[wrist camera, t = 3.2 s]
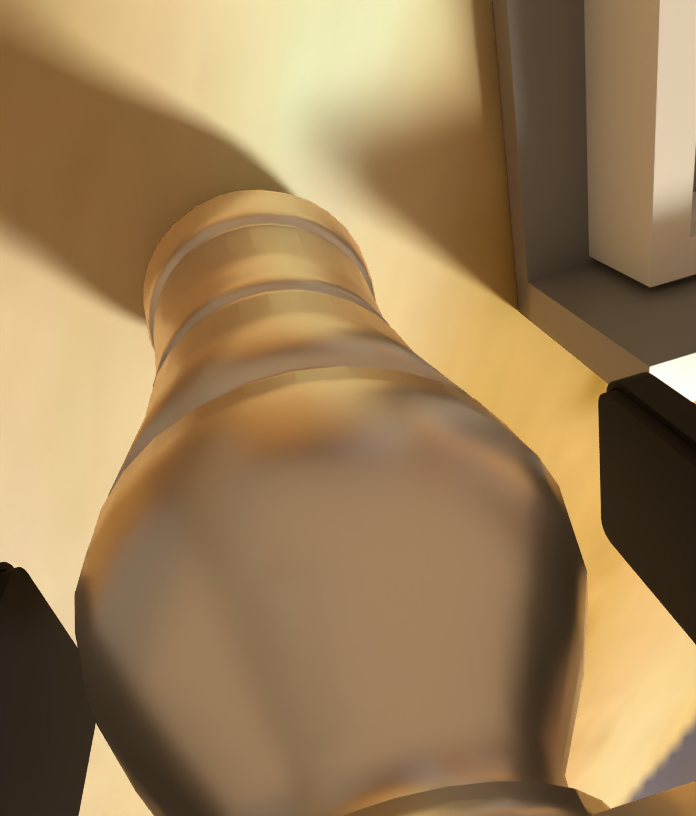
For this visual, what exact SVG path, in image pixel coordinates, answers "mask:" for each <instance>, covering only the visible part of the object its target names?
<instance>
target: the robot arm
mask: <svg viewBox="0 0 696 816" xmlns="http://www.w3.org/2000/svg"><path fill="white" fill-rule="evenodd" d="M598 408H599V448H600V488H601V521H602V526H603V529H604V532H605V534H606V536H607V538H608V539H609V541H610V542H611V543H612V545H613V546H614V547H615V548H616V549H617V551H618V552H619V553H620V554H621V555H622V557H623V558H624V559H625V560H626V561H627V563H628V564H629V565H630V566H631V567H632V569H633V570H634V571H635V572H636V573H637V575H638V576H639V577H640V578H641V579H642V581H643V582H644V583H645V584H646V585H647V587H648V588H649V589H650V590H651V591H652V593H653V594H654V595H655V596H656V597H657V599H658V600H659V601H660V602H661V603H662V605H663V606H664V607H665V608H666V609H667V611H668V612H669V613H670V614H671V615H672V617H673V618H674V619H675V620H676V621H677V623H678V624H679V625H680V626H681V627H682V629H683V630H684V631H685V632H686V633H687V635H688V636H689V637H690V638H691V639H692V640H693V642H694V643H695V644H696V404H694V403H693V402H692V401H690V400H689V399H687V398H686V397H684V396H683V395H681V394H680V393H679V392H677V391H676V390H674V389H673V388H671V387H670V386H669V385H667V384H666V383H664V382H663V381H661V380H660V379H658V378H657V377H656V376H654V375H653V374H651V373H649V372H642V373H638V374H635V375H632V376H628V377H625V378H621V379H618V380H615V381H612V382H610V383H609V384H608V387H607V392H606V393H603V394H601V395H600V397H599V402H598ZM95 724H96V720H95V717H94V714H93V711H92V708H91V705H90V702H89V699H88V696H87V693H86V689H85V683H84V678H83V673H82V667H81V662H80V656H79V651H78V648H77V646H76V645H75V643H74V642H73V640H72V639H71V637H70V636H69V634H68V633H67V631H66V630H65V628H64V627H63V625H62V624H61V622H60V621H59V619H58V618H57V616H56V615H55V613H54V612H53V610H52V609H51V607H50V606H49V604H48V603H47V601H46V600H45V598H44V597H43V595H42V594H41V592H40V591H39V589H38V588H37V586H36V585H35V583H34V582H33V580H32V579H31V577H30V576H29V574H28V573H27V572H26V571H25V569H23V568H21V567H17V568H14V567H13V566H12V565H11V564H9V563H7V562H0V816H78V815H79V810H80V805H81V799H82V794H83V789H84V783H85V778H86V772H87V767H88V762H89V756H90V751H91V746H92V740H93V735H94V730H95ZM590 816H696V781H695V782H692V783H688V784H685V785H682V786H679V787H676V788H673V789H670V790H667V791H664V792H661V793H658V794H655V795H652V796H649V797H645V798H642V799H639V800H636V801H633V802H630V803H627V804H624V805H621V806H618V807H615V808H612V809H609V810H606V811H602V812H599V813H596V814H593V815H590Z"/></svg>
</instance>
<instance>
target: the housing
mask: <svg viewBox="0 0 696 816" xmlns="http://www.w3.org/2000/svg"><path fill="white" fill-rule="evenodd" d="M493 11H494V23H495V35H496V47H497V59H498V71H499V83H500V95H501V107H502V119H503V131H504V143H505V154H506V166H507V178H508V190H509V202H510V214H511V226H512V238H513V250H514V262H515V274H516V286H517V298H518V310H519V312H520V313H521V314H522V315H524V316H525V317H526V318H527V319H529V320H530V321H531V322H532V323H534V324H535V325H536V326H537V327H539V328H540V329H541V330H542V331H544V332H545V333H546V334H547V335H549V336H550V337H551V338H552V339H553V340H555V341H556V342H557V343H558V344H560V345H561V346H562V347H563V348H565V349H566V350H567V351H568V352H570V353H571V354H572V355H573V356H575V357H576V358H577V359H578V360H580V361H581V362H582V363H583V364H584V365H586V366H587V367H588V368H589V369H591V370H592V371H593V372H594V373H596V374H597V375H598V376H599V377H601V378H602V379H603V380H604V381H606V382H607V383H608V384H609V383H610V382H612V381H615V380H618V379H621V378H625V377H628V376H632V375H635V374H638V373H642V372H649V373H651V374H653V375H654V376H656V377H657V378H658V379H660V380H661V381H663V382H664V383H666V384H667V385H669V386H670V387H671V388H673V389H674V390H676V391H677V392H679V393H680V394H681V395H683V396H684V397H686V398H687V399H689V400H690V401H692V402H694V401H696V0H493Z"/></svg>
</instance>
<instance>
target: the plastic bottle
mask: <svg viewBox="0 0 696 816" xmlns="http://www.w3.org/2000/svg"><path fill="white" fill-rule="evenodd" d="M143 305H144V311H145V316H146V322H147V327H148V333H149V338H150V341H151V344H152V346H153V348H154V351H155V364H156V377H155V381H154V384H153V390H152V393H151V396H150V400H149V404H148V408H147V412H146V416H145V418H144V420H143V423H142V425H141V427H140V429H139V431H138V433H137V435H136V437H135V440H134V442H133V444H132V446H131V448H130V450H129V452H128V454H127V457H126V459H125V461H124V463H123V465H122V467H121V469H120V471H119V473H118V476H117V478H116V480H115V482H114V484H113V486H112V488H111V490H110V493H109V495H108V498H107V500H106V501H105V503H104V505H103V507H102V508H101V511H100V514H99V517H98V521H97V524H96V527H95V530H94V533H93V536H92V539H91V542H90V545H89V548H88V550H87V553H86V556H85V560H84V563H83V567H82V570H81V574H80V577H79V581H78V584H77V588H76V591H75V635H76V640H77V646H78V651H79V656H80V662H81V667H82V673H83V678H84V683H85V689H86V693H87V696H88V699H89V702H90V705H91V708H92V711H93V714H94V717H95V720H96V723H97V726H98V727H99V729H100V731H101V732H102V734H103V736H104V738H105V739H106V741H107V743H108V744H109V746H110V748H111V750H112V751H113V753H114V755H115V756H116V758H117V760H118V762H119V763H120V765H121V767H122V768H123V770H124V772H125V774H126V775H127V777H128V779H129V780H130V782H131V784H132V786H133V787H134V789H135V791H136V792H137V794H138V795H139V796H140V798H141V799H142V800H143V802H144V803H145V804H146V806H147V807H148V808H149V810H150V811H151V812H152V814H153V815H154V816H590V815H593V814H596V813H599V812H602V811H606V810H609V809H610V808H609V807H608V806H607V805H606V804H605V803H604V802H603V801H601V800H599V799H597V798H595V797H592V796H590V795H588V794H586V793H583V792H581V791H579V790H577V789H573V788H568V784H567V781H566V778H565V773H566V767H567V762H568V757H569V751H570V746H571V740H572V735H573V729H574V724H575V719H576V713H577V708H578V702H579V697H580V691H581V686H582V681H583V675H584V658H585V641H586V623H587V606H588V597H587V570H586V567H585V564H584V561H583V558H582V555H581V552H580V549H579V546H578V543H577V540H576V537H575V534H574V531H573V528H572V525H571V522H570V519H569V516H568V513H567V510H566V507H565V504H564V500H563V497H562V494H561V491H560V488H559V486H558V484H557V483H556V481H555V480H554V478H553V477H552V476H551V474H550V473H549V471H548V470H547V468H546V467H545V465H544V464H543V462H542V461H541V460H540V458H539V457H538V456H537V455H536V454H535V453H534V452H533V451H532V450H531V449H530V448H529V447H528V446H527V445H526V444H525V443H523V442H522V441H521V440H520V439H519V438H518V437H517V436H516V435H515V434H514V433H513V432H512V431H511V429H510V428H509V427H508V426H507V425H506V424H504V423H503V422H502V421H501V420H500V419H498V418H497V417H496V416H495V415H494V414H493V413H491V412H490V411H489V410H488V409H487V408H486V407H484V406H483V405H482V404H481V403H480V402H478V401H477V400H476V399H474V398H472V397H471V396H469V395H468V394H467V393H466V392H465V391H463V390H462V389H461V388H459V387H458V386H457V385H456V384H454V383H453V382H452V381H450V380H449V379H448V378H446V377H445V376H444V375H443V374H441V373H440V372H439V371H437V370H436V369H435V368H433V367H432V366H431V365H430V364H428V363H427V362H426V361H424V360H423V359H422V358H420V357H419V356H418V355H417V354H415V353H414V352H413V351H412V349H411V348H410V347H409V346H408V345H407V344H406V343H405V342H404V341H403V339H402V338H401V337H400V336H399V335H398V334H397V333H396V332H395V330H393V329H392V328H391V327H390V326H389V324H388V323H387V322H386V321H385V319H384V318H383V317H382V314H381V312H380V310H379V308H378V306H377V304H376V299H375V294H374V289H373V284H372V279H371V276H370V273H369V270H368V267H367V264H366V262H365V260H364V257H363V255H362V253H361V251H360V248H359V246H358V244H357V243H356V241H355V240H354V239H353V237H352V236H351V235H350V233H349V232H348V230H347V229H346V228H345V227H344V226H343V225H342V224H341V223H340V222H339V221H338V220H337V219H336V218H334V217H333V216H332V215H331V214H330V213H329V212H327V211H326V210H324V209H322V208H320V207H319V206H317V205H315V204H314V203H312V202H310V201H308V200H305V199H302V198H299V197H297V196H294V195H291V194H288V193H282V192H275V191H267V190H260V189H257V190H240V191H235V192H231V193H227V194H223V195H219V196H216V197H214V198H212V199H210V200H208V201H206V202H204V203H202V204H200V205H198V206H196V207H195V208H193V209H192V210H191V211H189V212H188V213H187V214H186V215H184V216H183V217H182V218H180V219H179V220H178V221H177V222H175V223H174V225H173V226H172V227H171V228H170V229H169V230H168V232H167V233H166V234H165V235H164V236H163V238H162V239H161V240H160V242H159V244H158V245H157V247H156V249H155V251H154V253H153V255H152V257H151V259H150V261H149V265H148V268H147V272H146V276H145V279H144V293H143Z"/></svg>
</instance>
